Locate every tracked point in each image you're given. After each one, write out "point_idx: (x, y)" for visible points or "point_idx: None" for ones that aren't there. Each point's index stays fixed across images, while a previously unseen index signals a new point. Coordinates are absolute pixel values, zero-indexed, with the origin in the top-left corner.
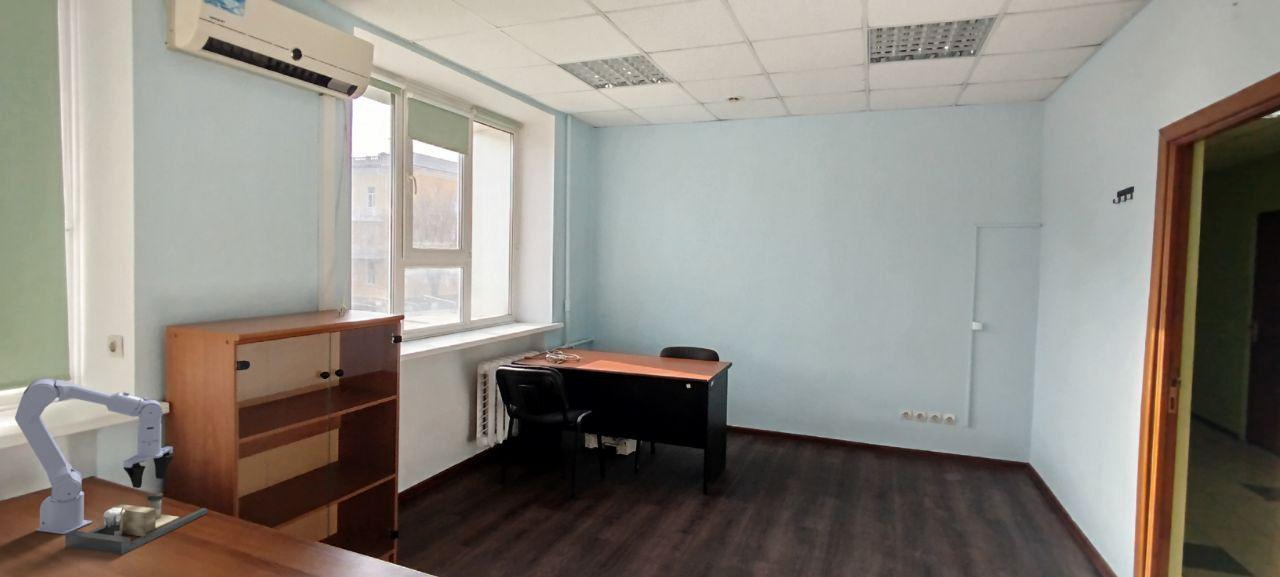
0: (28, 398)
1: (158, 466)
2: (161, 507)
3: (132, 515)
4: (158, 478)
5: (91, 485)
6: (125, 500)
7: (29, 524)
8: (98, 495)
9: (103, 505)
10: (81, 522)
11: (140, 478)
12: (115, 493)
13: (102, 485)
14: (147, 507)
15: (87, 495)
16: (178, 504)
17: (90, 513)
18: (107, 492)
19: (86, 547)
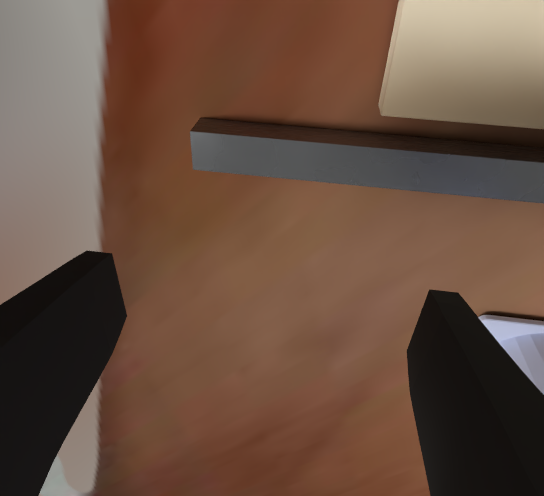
0: None
1: (22, 453)
2: (205, 119)
3: None
4: (120, 294)
5: (134, 483)
6: (190, 350)
7: None
8: (189, 439)
9: (264, 384)
10: (536, 344)
11: (525, 406)
12: (150, 411)
13: (119, 466)
14: (291, 167)
15: (202, 459)
16: (111, 44)
17: (355, 377)
18: (155, 432)
19: None
